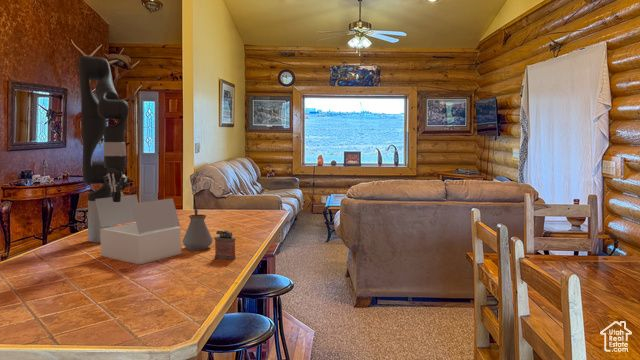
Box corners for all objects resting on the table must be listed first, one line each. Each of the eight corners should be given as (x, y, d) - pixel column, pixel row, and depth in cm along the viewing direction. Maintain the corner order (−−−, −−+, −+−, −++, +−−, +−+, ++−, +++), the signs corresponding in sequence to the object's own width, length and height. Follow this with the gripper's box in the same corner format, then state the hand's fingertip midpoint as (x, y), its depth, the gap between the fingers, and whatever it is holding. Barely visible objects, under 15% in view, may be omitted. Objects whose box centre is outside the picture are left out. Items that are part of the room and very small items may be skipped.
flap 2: (131, 203, 162) (132, 203, 162) (171, 198, 177) (172, 198, 176) (139, 233, 161) (139, 233, 161) (179, 225, 176) (180, 225, 175)
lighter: (237, 258, 171) (237, 230, 170) (232, 260, 168) (232, 232, 167) (217, 256, 174) (217, 229, 173) (212, 258, 170) (212, 230, 170)
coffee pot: (213, 250, 183) (213, 211, 181) (182, 252, 179) (181, 213, 178) (210, 239, 203) (209, 204, 202) (182, 240, 200) (181, 205, 199)
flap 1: (101, 227, 173) (100, 227, 173) (142, 220, 187) (141, 220, 187) (95, 198, 173) (95, 199, 174) (136, 194, 188) (135, 194, 188)
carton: (101, 255, 173) (100, 228, 173) (143, 246, 189) (142, 221, 188) (139, 264, 162) (138, 235, 161) (181, 254, 177) (180, 227, 176)
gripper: (94, 154, 174) (96, 202, 175) (116, 155, 167) (118, 204, 168) (113, 154, 180) (115, 200, 182) (135, 154, 173) (136, 202, 174)
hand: (116, 201), depth 175 cm, fingers closed
